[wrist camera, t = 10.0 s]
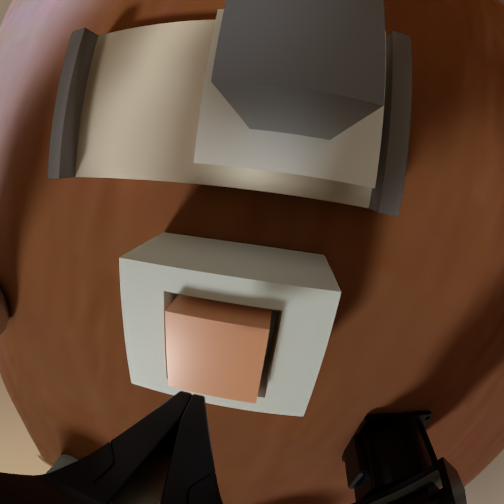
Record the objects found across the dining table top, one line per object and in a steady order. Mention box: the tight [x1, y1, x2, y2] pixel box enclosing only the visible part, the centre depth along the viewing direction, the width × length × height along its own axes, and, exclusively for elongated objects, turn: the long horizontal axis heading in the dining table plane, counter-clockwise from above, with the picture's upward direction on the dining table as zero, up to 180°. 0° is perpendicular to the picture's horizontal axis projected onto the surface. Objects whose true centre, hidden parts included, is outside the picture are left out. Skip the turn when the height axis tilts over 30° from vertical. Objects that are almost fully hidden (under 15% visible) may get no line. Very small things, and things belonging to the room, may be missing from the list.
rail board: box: [48, 19, 412, 217], centre depth 12 cm, size 18×9×3 cm, turn 83°
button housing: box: [119, 232, 341, 417], centre depth 14 cm, size 9×7×5 cm
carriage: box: [194, 0, 386, 188], centre depth 8 cm, size 7×7×8 cm
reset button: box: [165, 294, 272, 403], centre depth 13 cm, size 4×4×4 cm
